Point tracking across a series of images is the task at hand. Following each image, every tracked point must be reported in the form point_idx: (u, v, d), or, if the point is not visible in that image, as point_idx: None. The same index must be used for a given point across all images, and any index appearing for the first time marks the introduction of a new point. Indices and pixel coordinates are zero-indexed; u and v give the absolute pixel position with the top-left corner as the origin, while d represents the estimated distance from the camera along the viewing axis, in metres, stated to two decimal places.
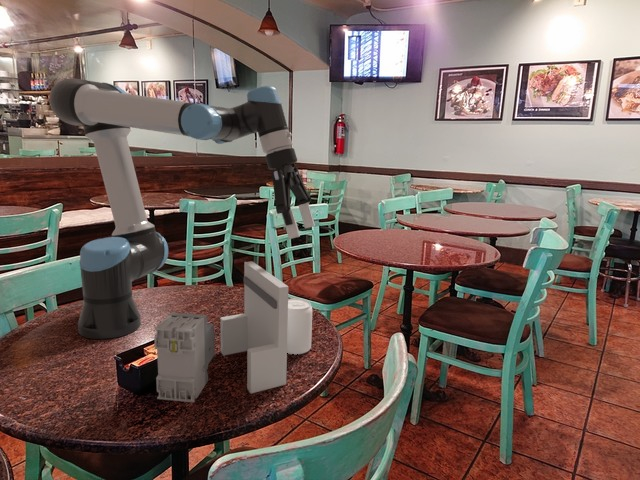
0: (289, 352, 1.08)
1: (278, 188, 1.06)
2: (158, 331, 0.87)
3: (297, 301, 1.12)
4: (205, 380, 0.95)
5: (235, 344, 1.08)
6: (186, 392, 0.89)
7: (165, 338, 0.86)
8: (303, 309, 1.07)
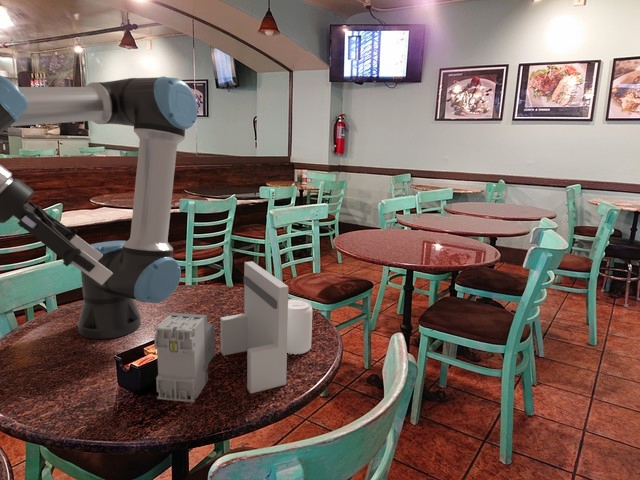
0: (289, 352, 1.08)
1: None
2: (158, 331, 0.87)
3: (297, 301, 1.12)
4: (205, 380, 0.95)
5: (235, 344, 1.08)
6: (186, 392, 0.89)
7: (165, 338, 0.86)
8: (303, 309, 1.07)
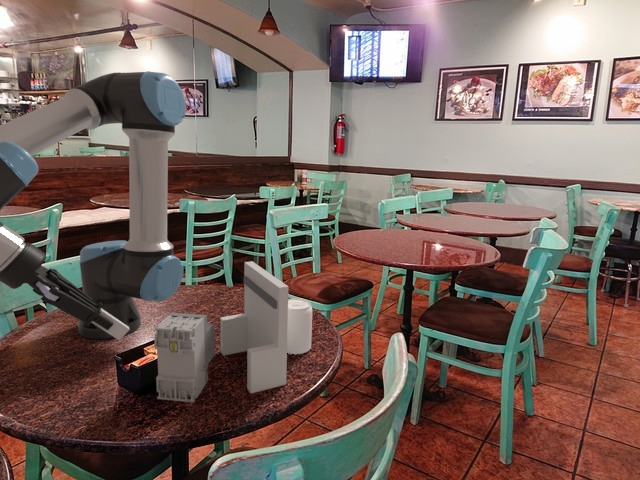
0: (289, 352, 1.08)
1: None
2: (158, 331, 0.87)
3: (297, 301, 1.12)
4: (205, 380, 0.95)
5: (235, 344, 1.08)
6: (186, 392, 0.89)
7: (165, 338, 0.86)
8: (303, 309, 1.07)
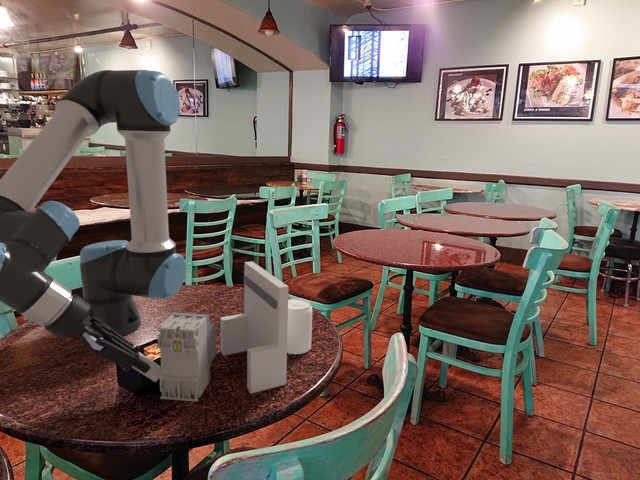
0: (289, 352, 1.08)
1: None
2: (161, 331, 0.87)
3: (297, 301, 1.12)
4: (208, 379, 0.95)
5: (235, 344, 1.08)
6: (190, 391, 0.89)
7: (168, 338, 0.87)
8: (303, 309, 1.07)
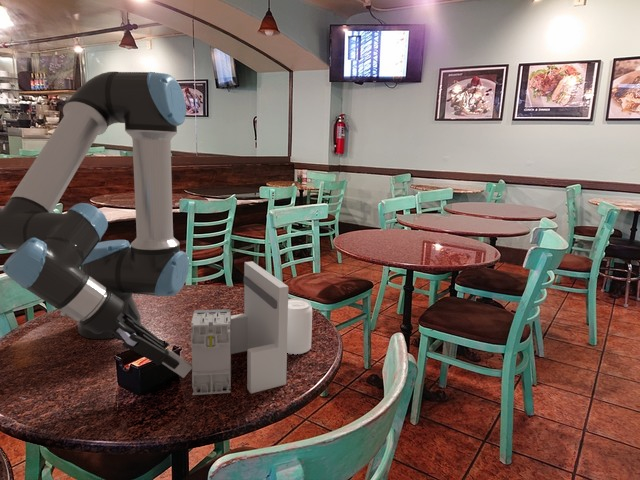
0: (289, 352, 1.08)
1: None
2: (194, 328, 0.88)
3: (297, 301, 1.12)
4: None
5: (235, 344, 1.08)
6: (222, 384, 0.92)
7: (201, 334, 0.89)
8: (303, 309, 1.07)
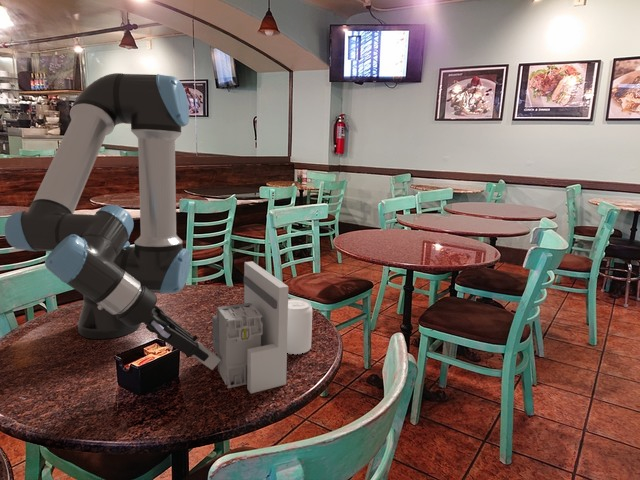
0: (289, 352, 1.08)
1: None
2: None
3: (297, 301, 1.12)
4: None
5: None
6: None
7: (236, 328, 0.92)
8: (303, 309, 1.07)
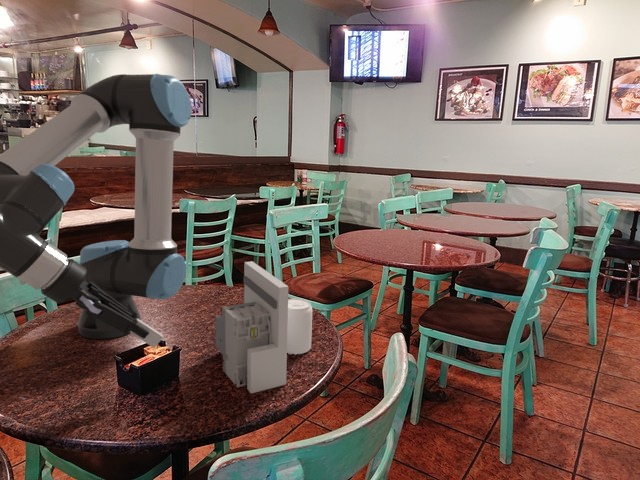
0: (289, 352, 1.08)
1: None
2: None
3: (297, 301, 1.12)
4: None
5: None
6: None
7: (245, 327, 0.93)
8: (303, 309, 1.07)
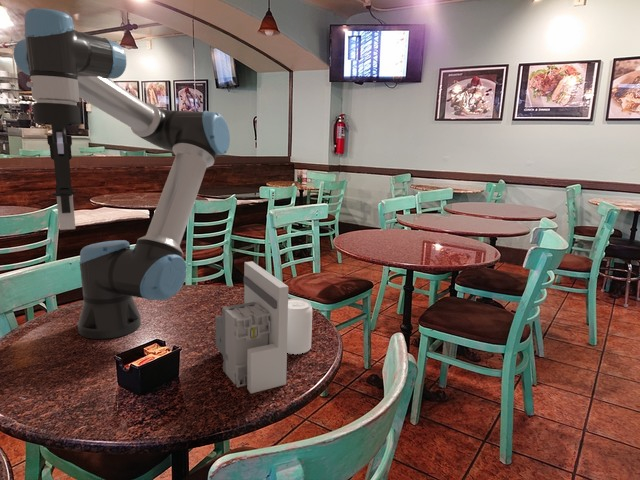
0: (289, 352, 1.08)
1: None
2: None
3: (297, 301, 1.12)
4: None
5: None
6: None
7: (245, 327, 0.93)
8: (303, 309, 1.07)
